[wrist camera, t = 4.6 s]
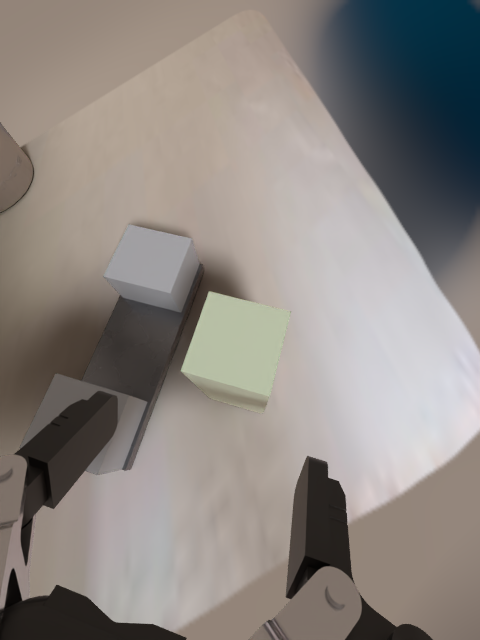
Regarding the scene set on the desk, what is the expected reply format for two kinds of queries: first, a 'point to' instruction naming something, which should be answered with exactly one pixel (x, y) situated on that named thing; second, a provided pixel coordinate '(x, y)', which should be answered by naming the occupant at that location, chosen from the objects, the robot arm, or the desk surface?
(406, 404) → the desk surface
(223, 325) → the block
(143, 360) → the dark gray flat board
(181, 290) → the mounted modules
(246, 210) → the desk surface
